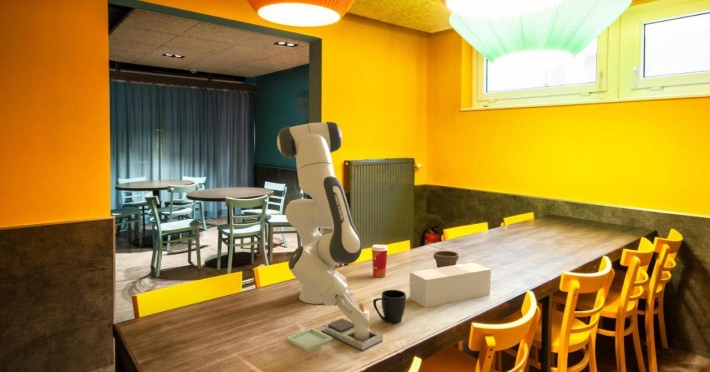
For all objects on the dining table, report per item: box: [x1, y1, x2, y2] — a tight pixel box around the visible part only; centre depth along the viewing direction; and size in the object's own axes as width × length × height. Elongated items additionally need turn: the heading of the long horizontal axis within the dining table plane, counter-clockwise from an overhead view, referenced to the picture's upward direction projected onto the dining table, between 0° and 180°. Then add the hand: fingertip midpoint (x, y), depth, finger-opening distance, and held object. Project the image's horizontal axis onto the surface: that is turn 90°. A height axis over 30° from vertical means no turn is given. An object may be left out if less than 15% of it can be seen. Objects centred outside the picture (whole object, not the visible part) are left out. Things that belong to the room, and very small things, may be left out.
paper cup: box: [370, 244, 389, 279], centre depth 194 cm, size 8×8×14 cm
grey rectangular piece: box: [321, 317, 384, 352], centre depth 133 cm, size 9×18×3 cm, turn 45°
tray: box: [286, 327, 334, 353], centre depth 130 cm, size 10×10×2 cm
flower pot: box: [433, 250, 459, 268], centre depth 197 cm, size 12×11×10 cm
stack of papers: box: [409, 262, 492, 308], centre depth 170 cm, size 32×11×11 cm, turn 116°
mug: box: [372, 289, 407, 325], centre depth 145 cm, size 8×12×10 cm
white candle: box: [354, 302, 370, 342], centre depth 129 cm, size 5×5×11 cm
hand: (364, 318), depth 129 cm, fingers open, 8 cm apart
